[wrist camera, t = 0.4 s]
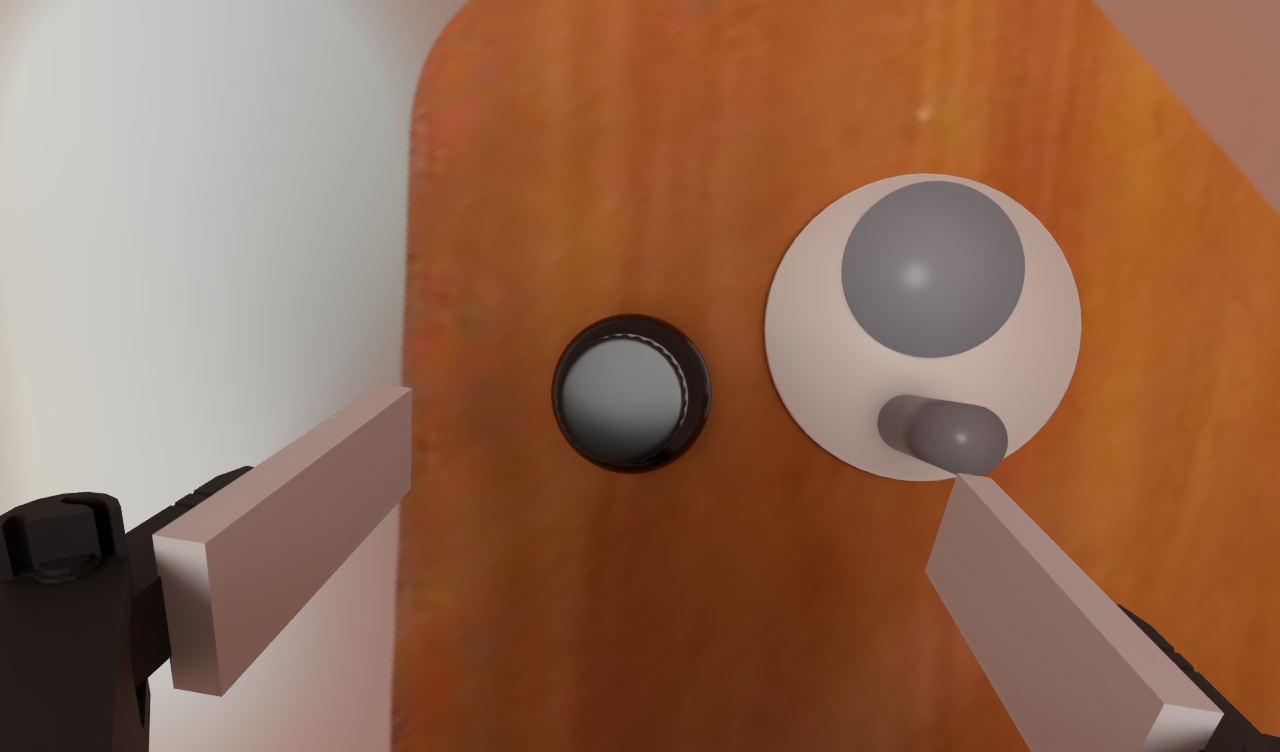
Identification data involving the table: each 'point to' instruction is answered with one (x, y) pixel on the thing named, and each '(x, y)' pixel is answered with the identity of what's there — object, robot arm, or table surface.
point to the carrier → (922, 327)
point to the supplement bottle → (631, 393)
